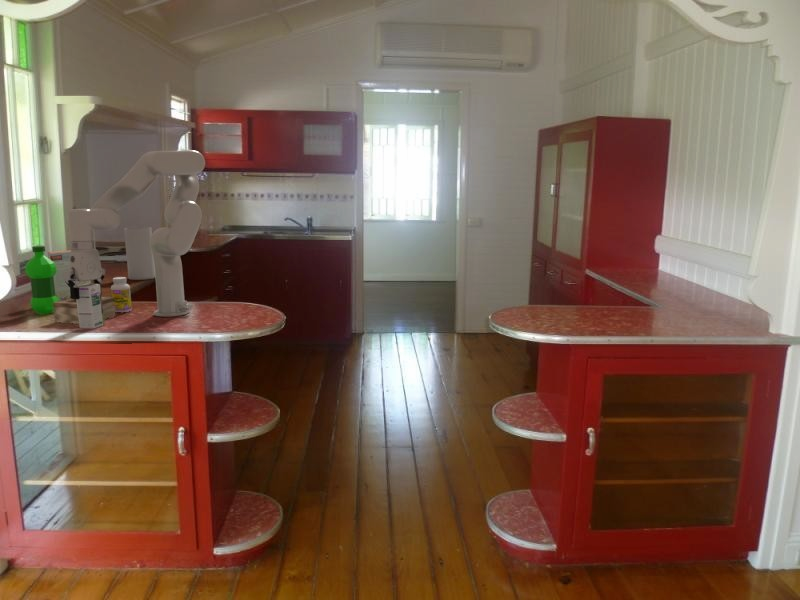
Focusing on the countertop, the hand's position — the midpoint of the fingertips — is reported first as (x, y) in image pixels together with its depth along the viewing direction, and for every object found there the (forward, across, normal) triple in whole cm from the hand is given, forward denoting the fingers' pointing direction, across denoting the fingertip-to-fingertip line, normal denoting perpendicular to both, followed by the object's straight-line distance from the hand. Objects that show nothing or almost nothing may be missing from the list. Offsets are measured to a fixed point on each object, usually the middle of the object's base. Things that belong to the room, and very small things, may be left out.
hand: (86, 297), depth 231 cm
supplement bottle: (+10, +25, +8) cm, 28 cm away
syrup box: (+10, +1, 0) cm, 11 cm away
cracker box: (+10, +36, +43) cm, 57 cm away
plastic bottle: (+11, +15, +35) cm, 40 cm away
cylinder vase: (+9, +96, +59) cm, 113 cm away
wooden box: (+10, +10, +11) cm, 18 cm away
